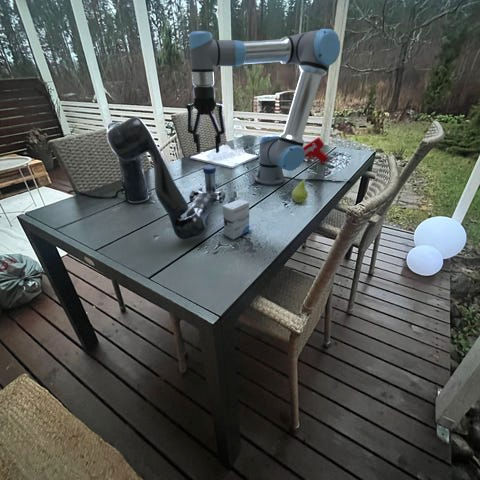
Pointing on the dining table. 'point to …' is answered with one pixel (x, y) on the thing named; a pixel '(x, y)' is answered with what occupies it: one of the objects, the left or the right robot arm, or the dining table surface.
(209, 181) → the grey capped tube
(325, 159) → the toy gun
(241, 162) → the relief map
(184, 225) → the left robot arm
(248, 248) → the dining table surface
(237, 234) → the ink box
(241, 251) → the dining table surface
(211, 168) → the lid
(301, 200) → the fruit
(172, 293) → the dining table surface
